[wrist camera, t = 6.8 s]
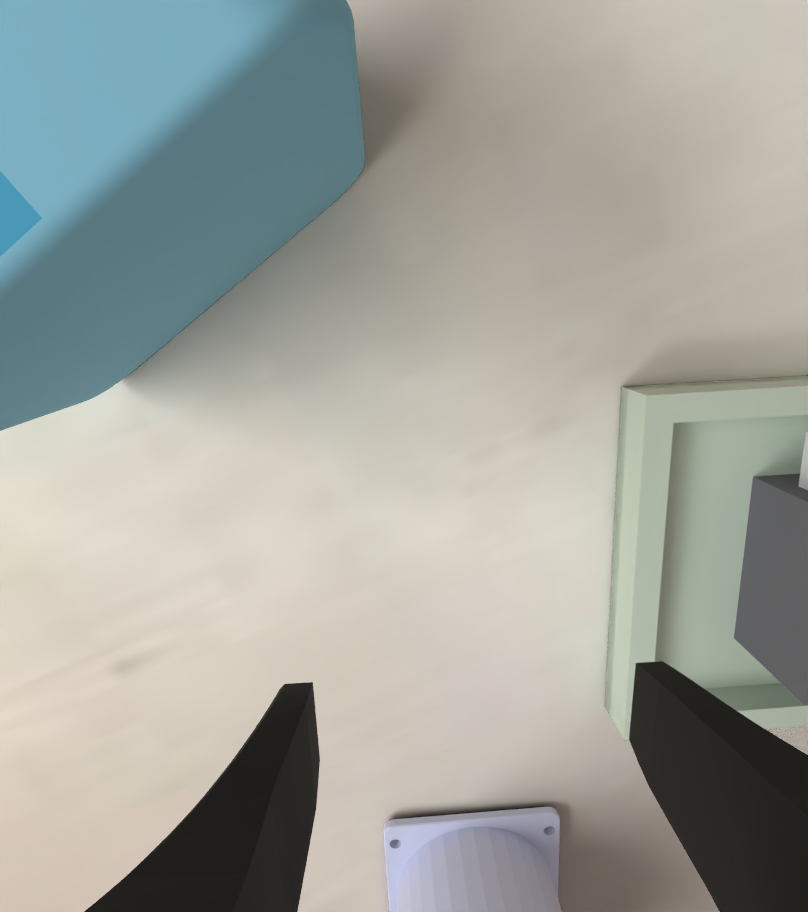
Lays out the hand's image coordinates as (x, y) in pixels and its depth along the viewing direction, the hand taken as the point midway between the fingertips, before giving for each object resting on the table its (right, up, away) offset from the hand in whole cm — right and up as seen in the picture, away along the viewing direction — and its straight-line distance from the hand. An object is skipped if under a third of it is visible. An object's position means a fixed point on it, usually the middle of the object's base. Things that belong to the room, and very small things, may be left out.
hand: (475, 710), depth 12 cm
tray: (+14, +2, +10) cm, 17 cm away
